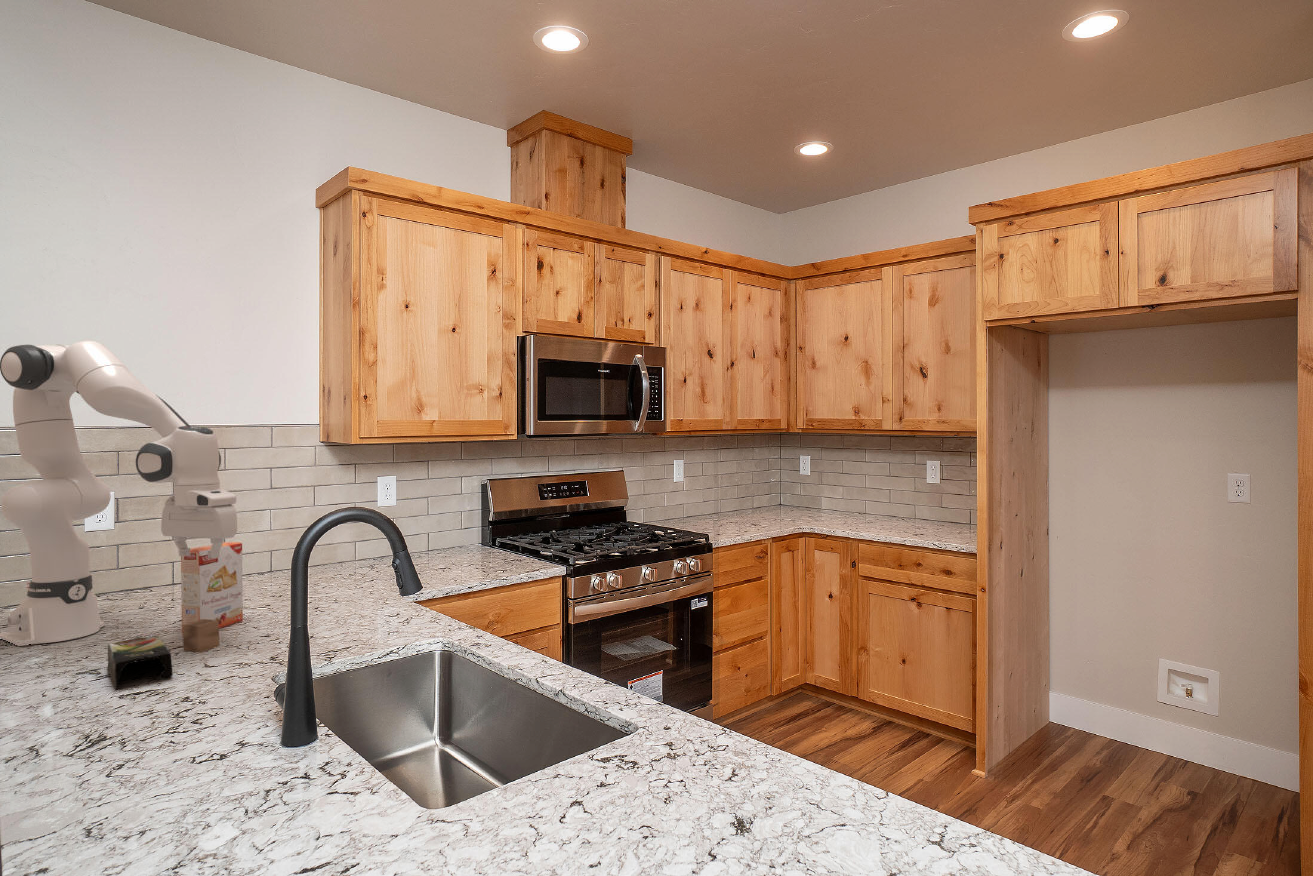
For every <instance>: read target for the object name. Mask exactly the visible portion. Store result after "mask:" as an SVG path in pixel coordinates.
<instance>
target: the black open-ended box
mask: <svg viewBox="0 0 1313 876" xmlns="http://www.w3.org/2000/svg"><path fill="white" fill-rule="evenodd" d="M153 658H156V659H159V661H160V660H161V661H160V662H162V663H161V664H163V665H164V666H163V665H162V666H163V667H164V670H163V671H162V672H161V673H160V675H159V678H158V679H163V680H164V679H165V680H166V679H172V676H173V663H172V662H173V661H172V653H171V652H170V650H169V649H168V647H167V646H166V645H165V644H164V640H163V639H162V638H160V636H159V635H157V634H156V635H149V636H148V635H147V636H145V637H140V636H137V637H134V638H130V639H126V640H120V641H117V642H110V643H108V644H107V666H106V669H107V672H108V674H109V676H110V679H111V680H112V681H111V682H112V684H113V686H114V689H115V690H116V691H117V690H118V689H119V685H120V684H119V683H120V679H121V675H122V672H123V670H124V668H125V667H126V666H127V665H129V664H132V663H131V662H134V663H136V662H135V661H140V662H142V661H150V660H149V659H153ZM153 660H154V659H153ZM118 691H119V690H118Z"/></svg>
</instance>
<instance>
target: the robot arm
mask: <svg viewBox="0 0 1313 876" xmlns="http://www.w3.org/2000/svg"><path fill="white" fill-rule="evenodd" d="M0 374H1V376H2V378H3V379H4V381H5V382H6V383H7V384H8V385H9V386H10V387H12V388H13V387H14V389H13V396H12V414H13V421H14V428H15V433H16V437H17V442H18V447H19V448H18V449H19V452H20V453H19V454H20V457H21V459H23V461H25V462H26V463H28V464H30V465H31V466H32V467H34V468H35V469H36V470H37V472H38V474H39V475H40V477H41V479H36V480H30V481H26V482H24V483H21V484H18V485H15V486H12V487H11V488H8V490H7V491H6V492H5V493H4V495H3V496H2V498H1V504H0V505H1V506H0V507H1V511H2V514H3V516H4V517H5V518H6V519H7V521H9V522H10V523H11V524H13V525H15V526H16V527H17V528H18V529H19V530H20V531H21V533H22V534H23V537H24V538H25V540H26V543H27V546H28V549H29V553H30V567H31V581H30V582H28V583H26V588H27V594H26V597H27V598H25V599H24V600H23V601H22V602H21V603H20V604H19V605H18V606H17V607H16V608H15V609H13V610H12V611H11V613H10V615H9V616H8V617H7V625H8V626H9V630H4V631H2V632H0V638H1V639H3V640H6V641H8V642H10V643H9V644H11V643H13V644H12V645H14V644H15V645H14V646H16V645H17V647H23V646H30V645H29V644H31V645H37V644H38V645H39V644H47V643H56V642H63V641H70V640H74V639H79V638H83V637H86V636H90V635H93V634H95V633H97V632H99V631H100V630H101V628H103V627H104V626H106V624H105V621H102V620H101V617H100V610H99V601H98V596H97V595H96V594H94V593H93V592H92V590H93V589H94V587H93V584H94V582H93V581H94V580H93V575H91V574H90V573H91V571H90V570H91V569H90V568H91V567H90V546H89V544H88V542H86V541H85V540H83V539H82V538H80V537H79V536H78V534H77V532H76V531H75V528H74V525H73V524H74V523H73V521H78V520H79V521H80V520H84V519H88V518H91V517H93V516H95V515H98V514H99V513H102V512H104V511H105V510H106V509H107V508H108V507H109V504H110V501H111V497H112V496H111V490H110V488H109V486H108V485H107V484H106V483H105V482H104V481H102V480H101V479H99V478H98V477H97V476H96V475H95V474H94V473H93V472H92V470H91V469H90V467H89V465H88V464H87V462H86V461H85V459H84V457H83V455H82V453H81V452H82V451H81V450H80V446H79V443H78V439H77V434H76V429H75V424H74V418H73V414H72V410H71V405H70V403H71V402H70V400H71V397H72V396H73V395H74V394H75V393H77V394H78V395H80V397H81V398H82V399H83V401H85V403H86V404H87V405H88V406H89V407H90V408H92V409H93V410H95V411H96V412H97V413H100V414H102V415H104V416H108V417H111V418H119V419H123V420H129V421H132V422H137V423H140V424H142V425H146V426H148V427H150V428H151V429H153V430H155V431H156V432H157V433H158V434H159V435H160V436H161V437H162V438H161V439H159V440H155V441H152V442H147V443H146V444H144V445H142V446H141V448H139V449H138V451H137V454H136V456H135V468H136V471H137V473H138V475H139V476H140V477H141V478H142V479H143V480H145V481H146V482H148V483H157V484H159V483H160V484H161V483H162V484H163V483H173V489H174V491H173V495H174V496H173V495H172V496H170V497H168V498H167V500H166V501H165V502H164V506H163V508H162V513H161V523H160V524H161V525H160V530H161V531H160V532H161V534H162V535H163V536H164V537H171V538H172V537H173V538H174V539H173V541H174V543H175V546H176V548H177V550H178V556H179V557H181V556H189V555H190V549H191V548H190V547H188V545H187V541H188V538H190V539H210V541H209V542H210V544H211V545H212V547H211V550H209V551H208V558H218V557H219V556H220V548H221V546H222V544H223V542H224V539H225V540H226V539H232V538H234V537H235V536H236V535H237V532H238V513H237V508H236V507H235V504H236V503H237V495H236V494H234V493H232V492H230V491H228V490H225V489H224V488H222V487H220V486H221V484H220V478H219V475H218V472H219V470H220V467H221V465H222V464H221V463H222V456H221V453H220V450H219V444H218V438H217V436H216V434H215V431H214V430H212V429H210V428H209V427H202V426H194V425H190V424H189V423H188V422H187V421H186V420H185V419H184V418H183V417H182V416H181V415H180V414H179V413H178V412H177V411H176V410H175V409H174V407H172V406H171V405H170V404H168V402H167V401H166V400H164V399H162V398H161V397H160V396H158V395H157V394H155V393H154V392H152V391H151V390H150V389H148V388H147V387H146V386H145V385H144V384H142V382H141V381H140V380H138V379H137V378H136V377H135V376H134V375H133V374H132V373H131V372H130V370H129V369H128V368H127V366H126V365H125V364H124V363H123V362H122V361H121V360H120V359H119V357H118V356H116V355H115V354H114V353H113V352H112V351H111V350H110V349H109V348H107V347H106V346H105V345H104V344H102V343H100V342H98V341H94V340H81V341H77V342H74V343H72V344H71V345H68V344H40V345H33V344H21V345H13V346H11V347H9V348H7V349H6V350H5V351H4V352H3V354H2V355H1V357H0ZM27 585H29V586H27ZM3 640H2V641H3ZM6 641H5V642H6ZM8 642H7V643H8Z"/></svg>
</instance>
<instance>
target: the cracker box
mask: <svg viewBox="0 0 1313 876" xmlns="http://www.w3.org/2000/svg"><path fill="white" fill-rule="evenodd" d="M211 547H212V544H208V545H202V546H198V547H193V548H190V555H189V556H180V578H181V579H180V583H181V584H180V586H181V587H180V588H181V591H180V592H181V593H180V596H181V597H180V598H181V601H180V602H181V634H182V635H183V625H184V624H187V623H191V622H195V621H199V620H202V619H206V620H215V621H219V629H221V628H224V627H228V626H230V625H233V624H236V623H239V622H242V621H243V618H244V616H243V615H244V614H243V613H244V612H243V608H244V607H243V602H244V601H243V542H238V541H237V542H235V541H234V542H233V541H229V542H227V541H226V542H224V541H223V544H222V546H221V548H220V556H219V557H218V558H208V551H209V550H211Z"/></svg>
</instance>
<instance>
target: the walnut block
mask: <svg viewBox="0 0 1313 876" xmlns="http://www.w3.org/2000/svg"><path fill="white" fill-rule="evenodd" d="M218 646H219V647H220V628H219V621H215V620H206V619H202V620H199V621H195V622H191V623H187V624H184V625H183V634H182V650H184V651H183V652H188V651H189V652H190V653H196V652H198V653H199V652H200V653H203V652H206V651H209V649H210V650H213V649H215V648H214V647H216V648H218ZM212 648H213V649H212ZM205 650H206V651H205Z"/></svg>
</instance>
